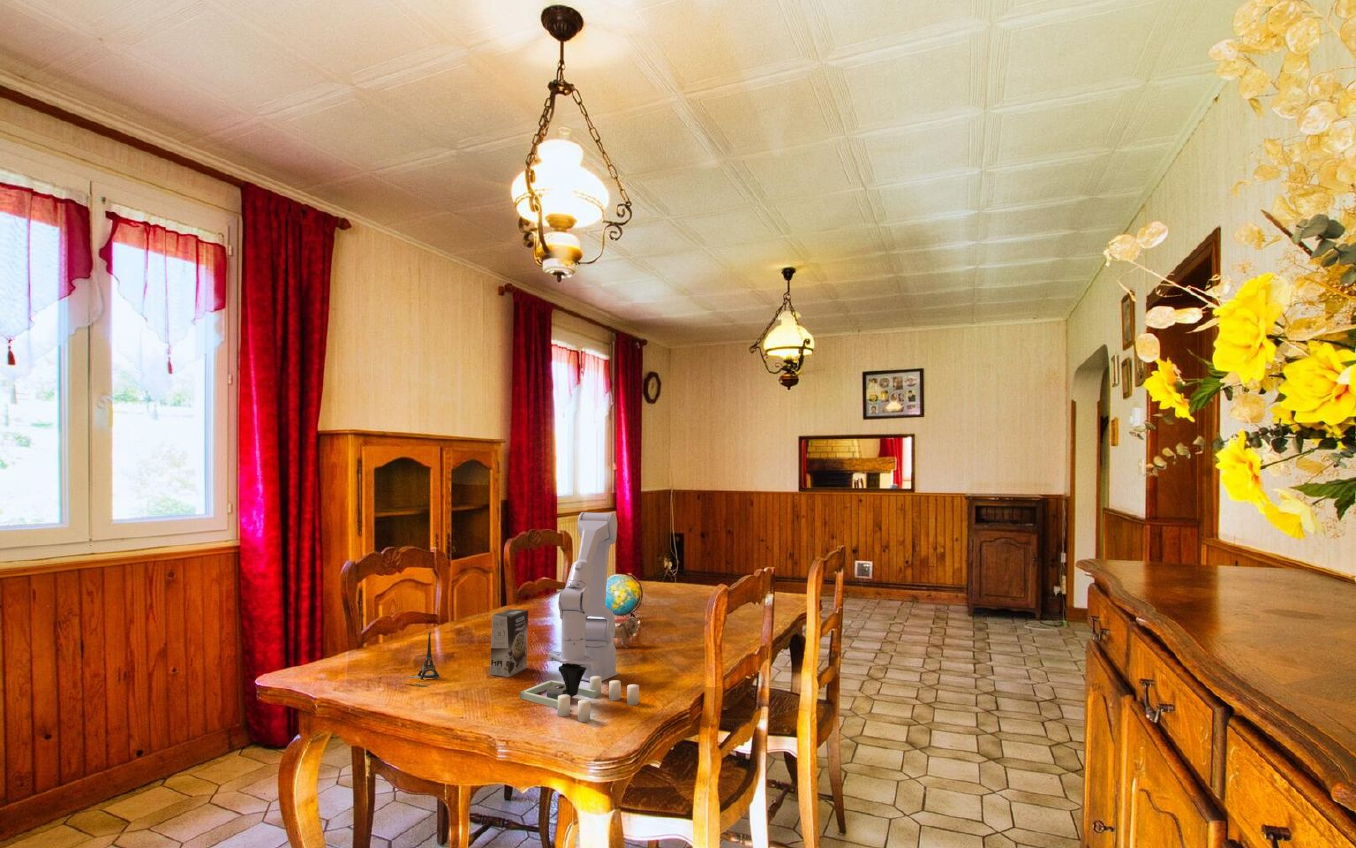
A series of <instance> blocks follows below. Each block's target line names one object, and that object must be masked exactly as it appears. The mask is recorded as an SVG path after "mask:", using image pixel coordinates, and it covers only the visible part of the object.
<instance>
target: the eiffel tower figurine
mask: <svg viewBox="0 0 1356 848" xmlns="http://www.w3.org/2000/svg"><path fill="white" fill-rule="evenodd" d="M431 635H432V633H431V630H429V631H428V638H427V639H428V640H427V649H426V656H425V659H424V662H423V664H422V667H421V669H420V670H418V671H419V673H418V674H417V676H413V675H412V676H411V677H407V676H405V677H404V678H420V679H419V680H424V679H423V678H439V679H442V677H441V676H440V674H439V673H438V672H437V670H436V669H437V668H436V666H435V664H434V662H433V661H434V660H433V656H432V645H431V643H432V642H431ZM428 672H430V673H432V674H430V673H428ZM421 673H422V675H421ZM416 686H418V687H419V686H420V687H427V686H428V684H427V685H420V684H417V685H415V687H416Z"/></svg>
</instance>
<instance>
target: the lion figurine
mask: <svg viewBox="0 0 1356 848" xmlns="http://www.w3.org/2000/svg"><path fill="white" fill-rule="evenodd" d="M638 620H639V619H638V618H636V617H635V616H630V617H628V618H626V620H624V621H623V622H621V623H620V624H618V626H616V625H615V636H614V639H621V646H622V645H624V646H623V647H624V648H625V649H629V646H628V638H632V637H633V636H634V634H636V632H637V630H638V628H639V624H638Z"/></svg>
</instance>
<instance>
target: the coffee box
mask: <svg viewBox="0 0 1356 848" xmlns="http://www.w3.org/2000/svg"><path fill="white" fill-rule="evenodd" d="M491 616H492V617H491V637H490V639H491V640H490V662H489V663H490V665H489V674H490V676H491V675H493V676H498V677H503V678H505V677H506V678H510V677H512V676H514V675H516V674H518V673H520V672H522V671H524V670H525V669H527V668H528V641H529V640H528V639H529V638H528V635H529V634H528V633H529V632H528V631H529V610H528V609H517V608H516V609H511V608H509V609H506V610H504V611H500V612H497V613H494V614H492V615H491Z"/></svg>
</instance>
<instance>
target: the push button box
mask: <svg viewBox="0 0 1356 848" xmlns="http://www.w3.org/2000/svg"><path fill="white" fill-rule="evenodd" d="M563 694H566V695H568V694H567V690H566V686H565V684H561V683H556V684H554V685H552V686H550V687H549V688H547V690H546V697H548V698H552V699H556V700H558V696H559V695H563ZM573 697H574V696H573ZM573 697H570V700H572V699H573Z"/></svg>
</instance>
